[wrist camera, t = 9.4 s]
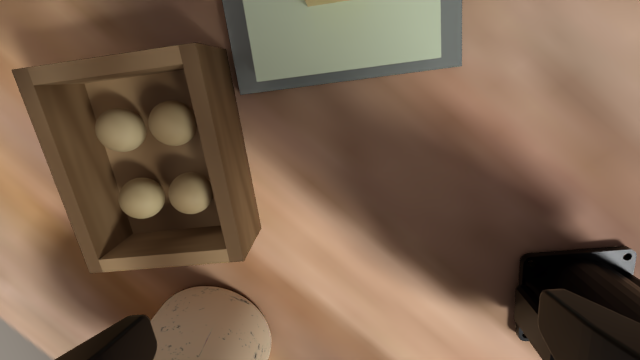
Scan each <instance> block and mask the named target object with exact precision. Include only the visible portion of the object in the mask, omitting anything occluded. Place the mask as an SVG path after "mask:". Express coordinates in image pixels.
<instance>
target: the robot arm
mask: <svg viewBox="0 0 640 360" xmlns="http://www.w3.org/2000/svg"><path fill="white" fill-rule="evenodd" d="M625 254H626V255H625ZM624 255H625V256H624ZM623 256H624V257H623ZM531 260H532V262H531V263H529V264H528V262H529V261H531ZM635 262H636V252H635V251H634V250H632V249H630V248H628V247H626V246H621V247H607V248H594V249H580V250H567V251H554V252H540V253H528V254H525V255H523V256H522V257H521V259H520V270H519V285H518V286H517V288H516V293H515V310H514V320H515V321H516V334H517V336H518V337H519V338H520V340H522V341H530V343H531V344H532V346H533V347H534V348H535V350H536V351H537V353H538V354H539V355H540V357H541V358H542V360H640V280H639V279H638V278H636V277H635V276H634V275H633V273H634V267H635ZM523 333H524V334H523ZM156 351H157V340H156V337H155V334H154V331H153V328H152V325H151V322H150V319H149V318H148V316H146V315H132V316H128V317H126V318H124V319H122V320H121V321H119V322H117V323H116V324H114V325H112V326H111V327H109V328H107V329H105V330H104V331H102V332H100V333H99V334H97V335H95V336H94V337H92V338H90V339H89V340H87V341H85V342H84V343H82V344H80V345H79V346H77V347H75V348H73V349H72V350H70V351H68V352H67V353H65V354H63V355H62V356H60V357H58V358H57V359H55V360H153V359H154V357H155V354H156Z"/></svg>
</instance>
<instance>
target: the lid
mask: <svg viewBox="0 0 640 360" xmlns="http://www.w3.org/2000/svg"><path fill="white" fill-rule="evenodd" d="M243 6H244V11H245V17H246V23H247V29H248V34H249V40H250V46H251V51H252V57H253V63H254V69H255V74H256V80H257V82H261V81H269V80H277V79H284V78H292V77H299V76H307V75H314V74H322V73H329V72H337V71H345V70H352V69H360V68H367V67H375V66H382V65H390V64H397V63H405V62H413V61H420V60H428V59H435V58H441V0H243Z"/></svg>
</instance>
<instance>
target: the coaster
mask: <svg viewBox="0 0 640 360" xmlns="http://www.w3.org/2000/svg"><path fill="white" fill-rule="evenodd" d="M222 2H223V7H224V13H225V18H226V23H227V28H228V33H229V39H230V44H231V49H232V54H233V59H234V65H235V70H236V75H237V80H238V85H239V91H240V95H243V94H251V93H259V92H266V91H274V90H282V89H289V88H297V87H305V86H312V85H320V84H328V83H335V82H343V81H351V80H358V79H366V78H374V77H381V76H389V75H397V74H404V73H412V72H420V71H427V70H435V69H443V68H451V67H458V66H462V0H441V58H435V59H428V60H420V61H413V62H405V63H397V64H390V65H382V66H375V67H367V68H360V69H352V70H345V71H337V72H329V73H322V74H314V75H307V76H299V77H292V78H284V79H277V80H269V81H261V82H257V80H256V74H255V69H254V63H253V57H252V51H251V46H250V40H249V34H248V29H247V23H246V17H245V11H244V6H243V0H222Z"/></svg>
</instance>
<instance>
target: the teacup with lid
mask: <svg viewBox="0 0 640 360" xmlns="http://www.w3.org/2000/svg"><path fill="white" fill-rule="evenodd" d="M150 322H151V325H152V328H153V331H154V334H155V337H156V340H157V351H156V354H155V357H154V359H153V360H268V358H269V354H270V350H271V333H270V329H269V326H268V324H267V322H266V320H265V318H264V316H263V315H262V313H261V312H260V311H259V310H258V309H257V307H256V306H255V305H253V304H252V303H251V302H250V301H249V300H247V299H246V298H244V297H243V296H241V295H239V294H237V293H235V292H233V291H230V290H227V289H224V288H219V287H212V286H198V287H192V288H188V289H185V290H183V291H180V292H178V293H176V294H175V295H173V296H172V297H170V298H169V299H168V300H167V301H166V302H165V303H164V304H163V305H162V307H161V308H160V309H159V311H158V312H157V313H156V314H155V316H154V317H153V318H152V320H151V321H150Z"/></svg>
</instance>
